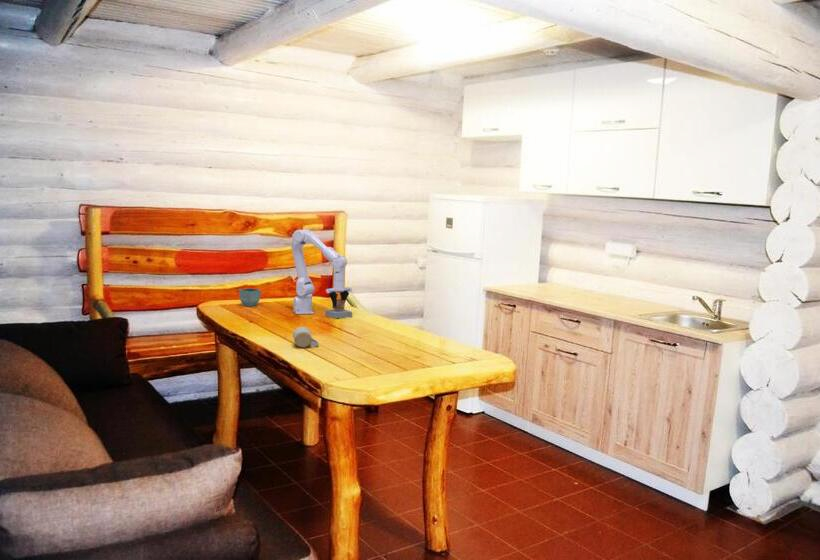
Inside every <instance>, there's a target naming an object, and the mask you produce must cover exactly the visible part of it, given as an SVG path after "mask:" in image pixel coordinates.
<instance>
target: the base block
mask: <svg viewBox="0 0 820 560" xmlns="http://www.w3.org/2000/svg"><path fill="white" fill-rule="evenodd" d="M324 316H325V317H327V316H328V317H329V318H331V317H332V318H331V319H334V318H335V320H338V319H337V318H341V319H346V318H345V317H350V318H352V317H353V312H352V311H350V310H348V309H345V308H344V309H339V310H336V309H333V308H332V309H325V311H324Z"/></svg>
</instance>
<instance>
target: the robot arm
mask: <svg viewBox="0 0 820 560" xmlns="http://www.w3.org/2000/svg"><path fill="white" fill-rule="evenodd" d="M291 237H292V241H291V245H290V246H291V247H290V248H291V252H292V257H293V262H294V266H295V267H294V268H295V269H296V270H295V271H296V275H297V280H296V283H295V285H296V290H295V292H296V295H297V296H294V297H293V310H292V311H293V313H295V315H305V314H308V315H309V314H311V315H313V314H315V312H314V311H313V294H314V292H315V289H316V287H315V285H314V283H313V282H312V279H311V278H310V277H309V274H308V269H307V265H306V259H305V255H304V249H303V247H304V246H305V245H306V244H307V243H309V244H312V245H313V246H315V247H316V248H317V249H318V250H319V251H320V252H322V256H324V258H325V259H327V260H328V261H329V263H331V265H332V267H333V287H331V288H326V289H325V293H326V294H328V295H329V297H330V299H331V303H332V304H331V305H333V306H334V307H336V302H337V299H338V296H339V294H340V299H341V300H345V302H346V301H347V298H348V296H349V295H350V292H352V290H353V288H352V287H349V286H348V287H346V286H345V285H346V284H345V283H346V266H347V264H348V260H347V258H346V257H345V256H344V255H343V256H341V254H340V253H338V252H337V251H335V248H334V247H331V246H327V245H326V244H324V243H323V242H322V240H320V239H319V238H318V237H317V236H316V235H315V233H314V232H312V230H310V229H308V228H305V229H296V230H295V231H294V232H293V234H291Z"/></svg>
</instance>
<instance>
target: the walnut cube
mask: <svg viewBox="0 0 820 560" xmlns="http://www.w3.org/2000/svg"><path fill="white" fill-rule="evenodd" d="M331 305H332V309H336V310H339V309H345V307H346V306H345V305H346V301H345V300H341V298H337V302H336V307H334V306H333V304H331Z"/></svg>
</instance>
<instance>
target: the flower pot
mask: <svg viewBox="0 0 820 560" xmlns="http://www.w3.org/2000/svg"><path fill="white" fill-rule="evenodd" d="M238 293H239V299H240V302H241V304H242V305H243V306H244V307H249V308H251V307H256V306H257V305H258V303H260V300H261V295H262V294H261V293H262V290H261V289H257V288H251V287H250V288H249V287H248V288H243V289H242V288H241V289H238Z"/></svg>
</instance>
